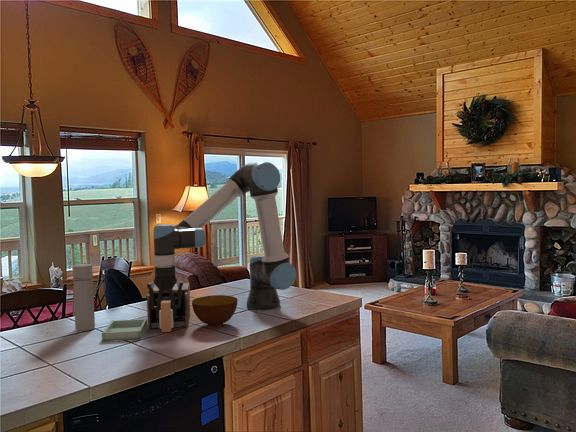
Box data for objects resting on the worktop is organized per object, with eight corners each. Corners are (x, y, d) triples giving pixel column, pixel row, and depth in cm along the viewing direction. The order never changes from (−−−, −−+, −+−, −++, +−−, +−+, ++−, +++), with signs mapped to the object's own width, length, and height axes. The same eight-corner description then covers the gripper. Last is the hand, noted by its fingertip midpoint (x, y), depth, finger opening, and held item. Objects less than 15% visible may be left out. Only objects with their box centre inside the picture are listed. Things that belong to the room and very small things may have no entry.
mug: (163, 328, 188) (162, 302, 187) (150, 323, 194) (150, 298, 193) (189, 321, 196) (188, 296, 196) (176, 317, 203) (175, 293, 202)
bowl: (220, 316, 203) (219, 293, 202) (247, 325, 190) (246, 299, 189) (183, 325, 190) (183, 300, 190) (210, 335, 178) (209, 308, 177)
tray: (147, 326, 190) (146, 318, 190) (140, 339, 174) (140, 331, 174) (112, 328, 188) (111, 320, 188) (102, 341, 172) (101, 333, 172)
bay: (190, 315, 205) (189, 283, 204) (187, 327, 188) (186, 291, 187) (153, 317, 203) (152, 284, 202) (147, 329, 186) (146, 293, 185)
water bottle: (100, 327, 190) (97, 264, 188) (85, 333, 182) (82, 267, 181) (81, 325, 193) (78, 263, 191) (66, 331, 185) (63, 266, 184)
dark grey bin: (187, 316, 203) (186, 290, 203) (183, 330, 182) (182, 302, 182) (156, 317, 202) (155, 291, 201) (149, 332, 181) (148, 303, 180)
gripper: (188, 263, 187) (189, 323, 188) (143, 265, 184) (145, 325, 186) (186, 266, 179) (188, 328, 181) (140, 268, 177) (142, 331, 178)
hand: (166, 327), depth 183 cm, fingers closed on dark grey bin, 3 cm apart
